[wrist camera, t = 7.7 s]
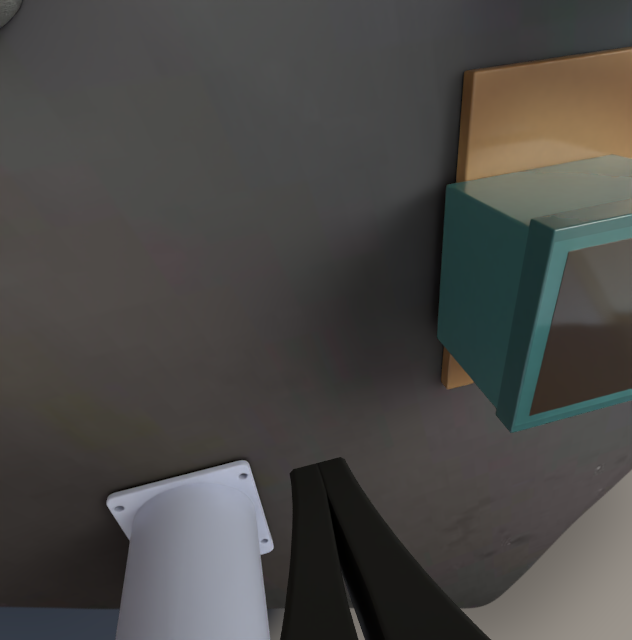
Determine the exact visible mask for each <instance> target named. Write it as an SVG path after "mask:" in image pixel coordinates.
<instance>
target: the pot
mask: <svg viewBox="0 0 632 640" xmlns="http://www.w3.org/2000/svg"><path fill="white" fill-rule="evenodd" d="M437 339H438V340H439V341H440V342H441V343H442V345H443V346H444V347H445V348H446V349H447V350H448V352H449V353H450V354H451V355H452V356H453V358H454V359H455V360H456V361H457V362H458V364H459V365H460V366H461V367H462V368H463V370H464V371H465V372H466V373H467V374H468V376H469V377H470V378H471V379H472V380H473V381H474V383H475V384H476V385H477V386H478V387H479V389H480V390H481V391H482V392H483V393H484V395H485V396H486V397H487V398H488V399H489V401H490V402H491V403H492V404H493V405H494V406H495V408H496V416H497V417H498V418H499V419H500V421H501V422H502V423H503V424H504V425H505V427H506V428H507V429H508V430H509V432H510V433H514V432H517V431H521V430H525V429H528V428H532V427H536V426H539V425H543V424H547V423H550V422H554V421H558V420H561V419H565V418H569V417H572V416H576V415H580V414H583V413H587V412H591V411H594V410H598V409H602V408H605V407H609V406H613V405H616V404H620V403H624V402H627V401H631V400H632V159H630V158H626V157H622V156H617V155H613V154H612V155H606V156H601V157H595V158H590V159H584V160H579V161H573V162H568V163H563V164H557V165H552V166H546V167H541V168H535V169H530V170H524V171H519V172H514V173H508V174H503V175H497V176H492V177H486V178H481V179H475V180H470V181H464V182H459V183H454V184H448V185H447V186H446V198H445V214H444V230H443V247H442V263H441V279H440V295H439V311H438V328H437Z"/></svg>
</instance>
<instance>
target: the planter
mask: <svg viewBox="0 0 632 640" xmlns="http://www.w3.org/2000/svg"><path fill="white" fill-rule="evenodd" d="M21 3H22V0H0V28H1V27H2V26H3V25H5V24H6V23H7V22H8V21H9V20H10V19H11V18H12V17H13V16H14V15H15V14H16V12H17V11H18V9H19V7H20V5H21Z"/></svg>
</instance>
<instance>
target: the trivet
mask: <svg viewBox="0 0 632 640" xmlns="http://www.w3.org/2000/svg"><path fill="white" fill-rule="evenodd" d="M612 154H613V155H617V156H622V157H626V158H630V159H632V46H631V47H624V48H617V49H610V50H604V51H597V52H590V53H583V54H576V55H569V56H562V57H556V58H549V59H542V60H535V61H528V62H521V63H514V64H507V65H501V66H494V67H487V68H480V69H473V70H467V71H465V72H464V81H463V95H462V108H461V122H460V135H459V148H458V162H457V175H456V183H459V182H464V181H470V180H475V179H481V178H486V177H492V176H497V175H503V174H508V173H514V172H519V171H524V170H530V169H535V168H541V167H546V166H552V165H557V164H563V163H568V162H573V161H579V160H584V159H590V158H595V157H601V156H606V155H612ZM441 382H442V383H443V385H444V386H445V387H446V389H452V388H456V387H460V386H464V385H468V384H472V383H474V381H473V380H472V379H471V378H470V377H469V376H468V374H467V373H466V372H465V371H464V370H463V368H462V367H461V366H460V365H459V364H458V362H457V361H456V360H455V359H454V358H453V356H452V355H451V354H450V353H449V352H448V350H447V349H446V348H445V347H444V350H443V363H442V377H441Z"/></svg>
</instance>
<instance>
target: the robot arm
mask: <svg viewBox="0 0 632 640" xmlns="http://www.w3.org/2000/svg"><path fill="white" fill-rule="evenodd" d="M242 473H244V474H242ZM290 479H291V485H292V500H293V526H292V543H291V560H290V570H289V579H288V587H287V596H286V604H285V612H284V619H283V626H282V632H281V638H280V640H358V637H357V633H356V630H355V626H354V623H353V619H352V616H351V612H350V609H349V605H348V601H347V597H346V592H345V588H344V584H343V579H342V575H343V578H344V581H345V584H346V586H347V589H348V592H349V595H350V598H351V601H352V604H353V606H354V609H355V612H356V615H357V618H358V621H359V623H360V626H361V629H362V632H363V635H364V638H365V640H491V639H490V638H489V637H488V636H487V635H486V634H484V633H483V632H482V631H481V630H480V629H479V628H478V627H477V626H476V625H475V624H474V623H473V622H472V620H471V619H470V618H469V617H468V616H466V614H465V613H464V612H463V611H462V610H461V609H460V608H459V607H458V606H457V605H456V604H455V603H454V602H453V601H452V600H451V599H450V598H449V597H448V596H447V595H446V594H445V593H444V591H443V590H442V589H441V588H440V587H439V586H438V585H437V584H436V583H435V582H434V580H433V579H432V578H431V577H430V576H429V575H428V574H427V573H426V571H425V570H424V569H423V568H422V567H421V566H420V564H419V563H418V562H417V561H416V560H415V559H414V557H413V556H412V555H411V554H410V553H409V551H408V550H407V549H406V548H405V547H404V545H403V544H402V543H401V542H400V540H399V539H398V538H397V537H396V535H395V534H394V533H393V531H392V530H391V529H390V527H389V526H388V525H387V523H386V522H385V521H384V520H383V518H382V517H381V516H380V514H379V513H378V511H377V510H376V509H375V507H374V506H373V505H372V503H371V502H370V500H369V499H368V497H367V496H366V494H365V493H364V491H363V490H362V488H361V487H360V485H359V484H358V482H357V480H356V479H355V477H354V475H353V474H352V472H351V470H350V468H349V467H348V465H347V463H346V461H345V459H343V458H341V457H339V458H335V459H331V460H328V461H324V462H320V463H316V464H312V465H308V466H304V467H301V468H297V469H293V470H292V471H291V473H290ZM106 504H107V507H108V508H109V510H110V511H111V513H112V514H113V516H114V517H115V519H116V520H117V522H118V524H119V525H120V527H121V528H122V530H123V531H124V533H125V534H126V536H127V537H128V539H129V541H130V544H129V551H128V558H127V564H126V571H125V578H124V585H123V591H122V598H121V605H120V612H119V618H118V625H117V632H116V639H115V640H270V632H269V624H268V615H267V607H266V598H265V590H264V581H263V573H262V564H261V556H260V555H262V554H265V553H268V552H270V551H272V550H273V548H274V546H273V541H272V537H271V534H270V531H269V527H268V524H267V521H266V518H265V514H264V511H263V508H262V504H261V501H260V498H259V495H258V491H257V488H256V485H255V481H254V478H253V475H252V471H251V468H250V465H249V463H248V462H247V461H245V460H239V461H235V462H231V463H227V464H223V465H220V466H216V467H212V468H208V469H204V470H200V471H196V472H192V473H189V474H185V475H181V476H177V477H173V478H169V479H165V480H161V481H157V482H154V483H150V484H146V485H142V486H138V487H134V488H130V489H126V490H123V491H119V492H115V493H112V494H110V495H109V496H108V498H107V502H106ZM341 572H342V573H341Z"/></svg>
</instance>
